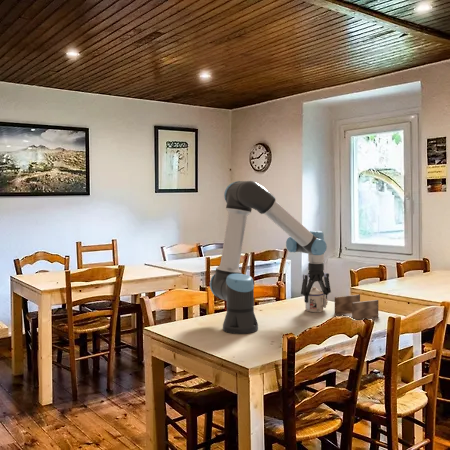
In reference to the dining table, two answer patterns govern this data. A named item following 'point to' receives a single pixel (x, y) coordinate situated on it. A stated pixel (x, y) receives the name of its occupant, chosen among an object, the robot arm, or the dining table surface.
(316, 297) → the teacup with lid
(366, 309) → the caddy
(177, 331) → the dining table surface
